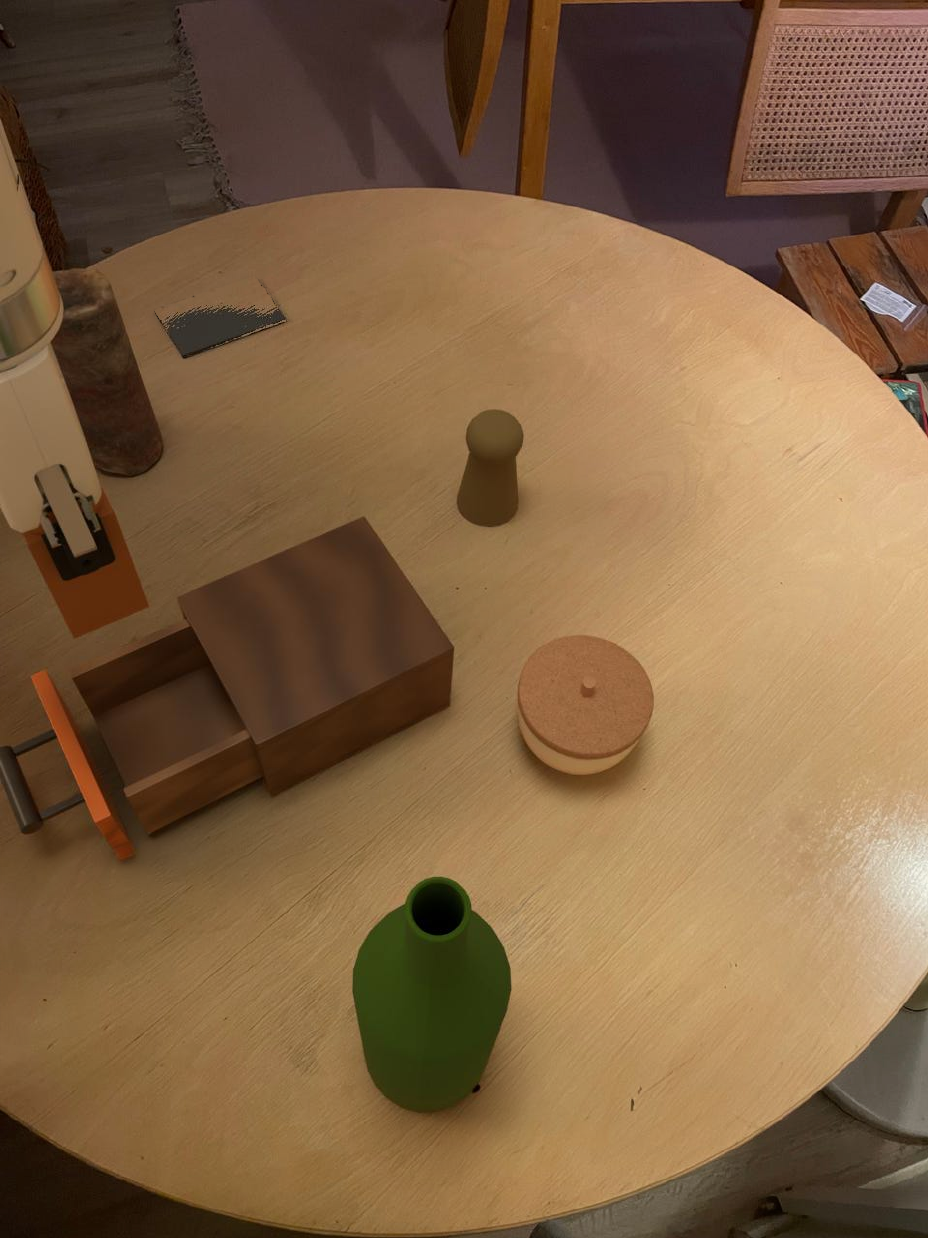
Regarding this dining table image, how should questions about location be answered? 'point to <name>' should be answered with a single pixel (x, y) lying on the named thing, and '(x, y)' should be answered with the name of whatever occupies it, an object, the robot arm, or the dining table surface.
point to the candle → (104, 375)
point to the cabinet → (322, 651)
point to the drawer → (142, 736)
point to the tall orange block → (92, 579)
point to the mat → (215, 327)
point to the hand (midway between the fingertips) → (73, 537)
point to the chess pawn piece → (491, 469)
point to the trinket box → (583, 704)
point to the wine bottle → (430, 997)
